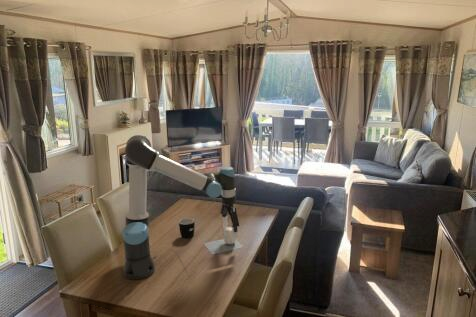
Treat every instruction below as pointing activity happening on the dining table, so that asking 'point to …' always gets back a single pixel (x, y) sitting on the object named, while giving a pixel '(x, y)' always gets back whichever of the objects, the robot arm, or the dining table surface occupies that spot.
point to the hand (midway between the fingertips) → (230, 232)
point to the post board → (221, 246)
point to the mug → (187, 227)
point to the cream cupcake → (228, 236)
